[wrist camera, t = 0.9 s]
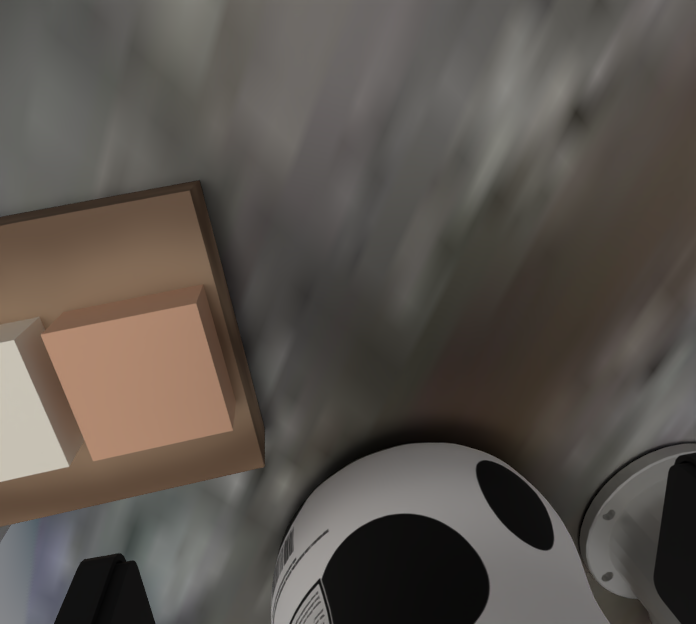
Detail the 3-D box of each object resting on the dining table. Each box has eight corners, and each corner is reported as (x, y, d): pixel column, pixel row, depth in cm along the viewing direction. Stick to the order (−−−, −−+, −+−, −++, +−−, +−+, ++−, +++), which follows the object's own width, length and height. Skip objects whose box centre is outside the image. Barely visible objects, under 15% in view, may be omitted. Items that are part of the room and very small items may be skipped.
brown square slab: (264, 428, 30) (264, 467, 27) (11, 484, 29) (-20, 531, 26) (199, 180, 25) (189, 190, 22) (-111, 237, 24) (-169, 257, 21)
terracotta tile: (236, 401, 25) (232, 430, 23) (109, 428, 25) (93, 461, 23) (202, 284, 23) (196, 303, 21) (63, 312, 23) (40, 334, 21)
